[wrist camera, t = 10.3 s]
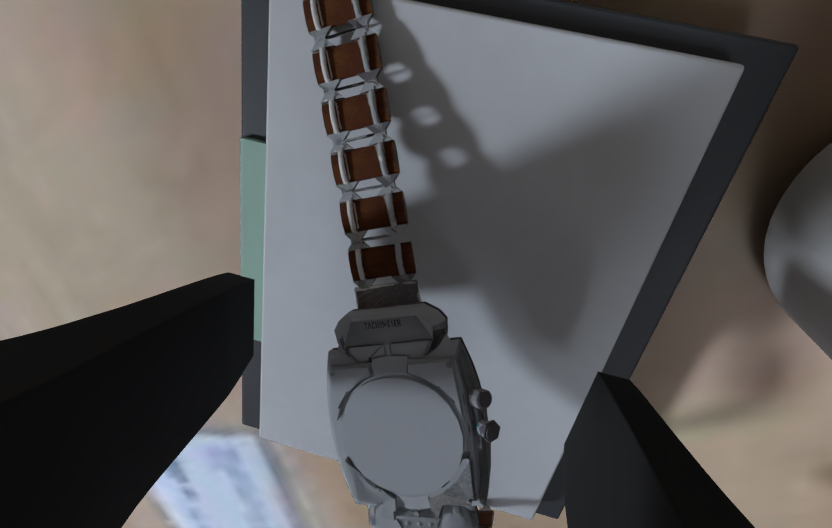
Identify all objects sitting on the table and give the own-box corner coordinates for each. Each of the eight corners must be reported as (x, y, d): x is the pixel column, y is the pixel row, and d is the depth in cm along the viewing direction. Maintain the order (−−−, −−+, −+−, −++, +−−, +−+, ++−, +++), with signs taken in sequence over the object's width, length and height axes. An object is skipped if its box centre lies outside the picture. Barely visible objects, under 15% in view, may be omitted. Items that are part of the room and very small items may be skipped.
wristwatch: (424, 525, 15) (369, 683, 10) (344, 63, 13) (234, -12, 8) (540, 528, 14) (540, 707, 9) (467, 29, 12) (421, -78, 7)
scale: (553, 464, 17) (560, 541, 14) (271, 383, 18) (229, 440, 15) (749, 44, 10) (825, 45, 8) (287, -43, 11) (220, -68, 9)
